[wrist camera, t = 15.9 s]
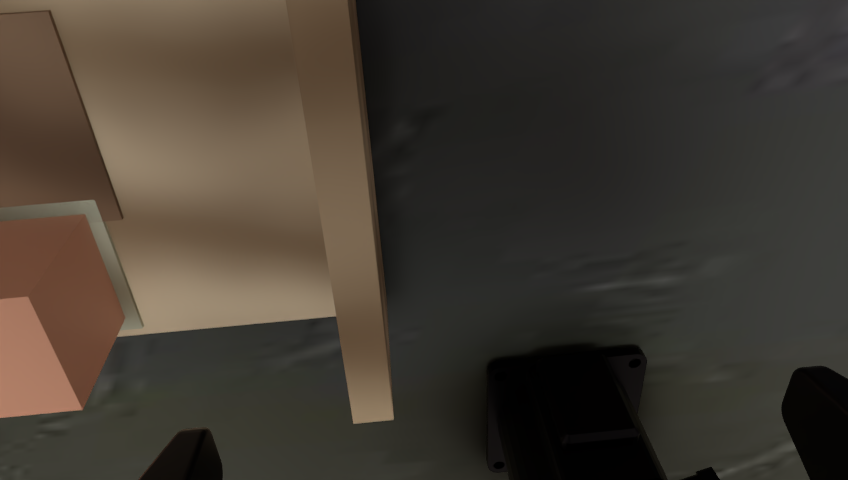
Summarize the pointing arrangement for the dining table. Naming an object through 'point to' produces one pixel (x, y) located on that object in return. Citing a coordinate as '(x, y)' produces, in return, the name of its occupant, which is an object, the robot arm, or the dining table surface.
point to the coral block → (52, 315)
